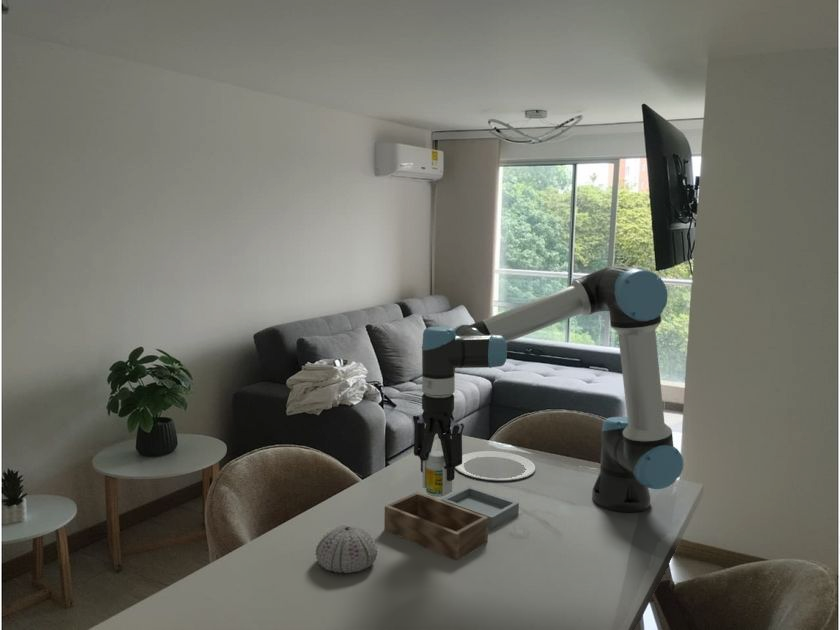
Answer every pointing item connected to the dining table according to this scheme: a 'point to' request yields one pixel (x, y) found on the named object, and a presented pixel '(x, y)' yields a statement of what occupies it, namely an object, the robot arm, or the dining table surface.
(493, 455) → the white flat ring
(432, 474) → the supplement bottle
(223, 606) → the dining table surface
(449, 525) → the walnut box
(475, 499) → the slate tray
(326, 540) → the sea urchin shell
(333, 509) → the dining table surface
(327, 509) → the dining table surface
